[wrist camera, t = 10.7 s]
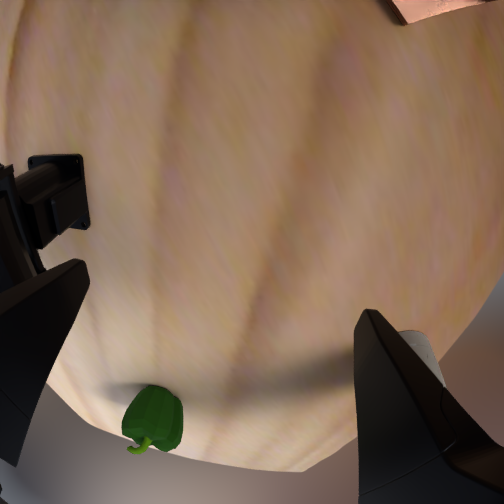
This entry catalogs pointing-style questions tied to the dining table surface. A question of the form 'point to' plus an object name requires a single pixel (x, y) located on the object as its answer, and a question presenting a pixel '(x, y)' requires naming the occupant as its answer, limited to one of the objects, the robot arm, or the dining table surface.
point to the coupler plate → (427, 8)
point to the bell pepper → (154, 420)
